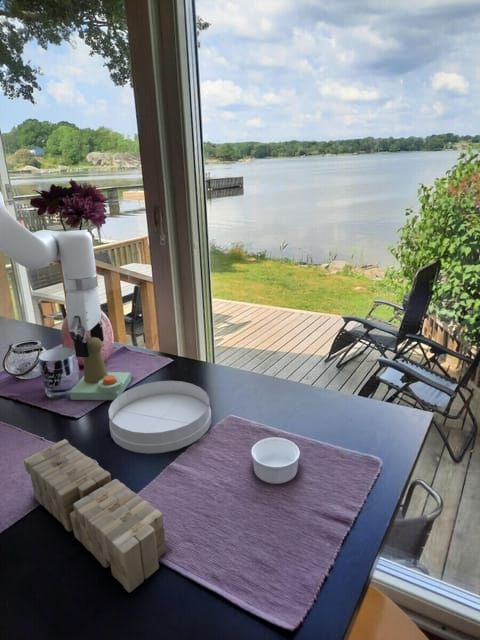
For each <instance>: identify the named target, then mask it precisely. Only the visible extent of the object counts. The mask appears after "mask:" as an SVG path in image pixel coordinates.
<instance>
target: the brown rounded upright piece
mask: <svg viewBox="0 0 480 640" xmlns="http://www.w3.org/2000/svg"><path fill="white" fill-rule="evenodd" d="M86 341H88V347H89V354H90V355H89V357H83V376H84V381H85V382H86V383H89V384H95V383H98V382H99V381H100V380H102V379H103V378H104V377H105V376H108V373H107V372H108V371H107V370H108V369H107V367H106V363H105V359H104V357H103V354H102V349H103V348H102V347H103V343H102V342H103V341H102V342H101V340H100V339H99V338H96V337H91V336H90V337H86Z"/></svg>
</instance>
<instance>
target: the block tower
mask: <svg viewBox="0 0 480 640" xmlns="http://www.w3.org/2000/svg"><path fill="white" fill-rule="evenodd" d="M23 465H24V468H25V471H26V473H28V475H30V480H31V485H32V489H33V493H34V498H35V500H36V501H37V502H38V503H39V504H40V505H41V506H43V507H44V508H45V509H46V510H47V511H48V512H49V514H52V516H53V517H54V518H56V520H57V521H58V522H59V523H61V524H62V525H63V527H64V529H65V530H66V531H67V532H68V533H69V532H71V531H73V535H74V536H73V537H74V538H75V539H76V540H77V541H79V542H80V543H81V544H82V545H83V546H84V548H85V549H86V550H87V551H88V552H90V553H91V555H93V556H94V558H96V560H97V561H98V562H99V563H100V565H101V566H102V567H103V568H108V567H110V571H111V575H112V577H114V579H116V580H117V581H118V583H120V584H121V585H122V586H123V588H124V589H125V590H126V592H128V593H132V592H133V591H134V590H135V589H137V588H138V587H139V586H140V585H141V584H142V583H143V582H144V581H145V580H147V579H148V578H149V577H150V576H152V575H153V574H154V573H156V571H157V570H159V568H160V564H159V558H160V557H161V556H162V555H164V554H165V553H166V552H167V545H166V536H165V528H164V516H163V513H162V511H160V510H158V509H156V508H155V507H154V506H153V505H151V504H150V503H149V502H148V501H147V500H146V499H144V498H143V497H141V496H140V495H138V494H137V493H136V492H135V491H132V490H131V489H130V488H129V487H128V486H126V484H124V483H123V482H121V481H120V480H119V479H118V478H114V479H113V480H112V475H111V473H110V471H108V470H105V469H104V468H102V467H101V466H100V465H99V464H98V463H96V462H95V461H94V460H93V459H91V458H90V457H88V456H87V455H85V454H84V453H82V452H81V451H80V450H79V449H78V448H76V447H75V446H73V445H71V444H70V442H69V440H67V439H66V438H64V439H63V440H62V439H61V440H60V441H57V442H56V443H54V444H52V445H50V446H48V447H46V448H44V449H42V450H40V451H39V452H35V453H34V454H33V455H30V456H28V457H27V458H24V459H23Z"/></svg>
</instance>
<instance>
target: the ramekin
mask: <svg viewBox="0 0 480 640" xmlns="http://www.w3.org/2000/svg"><path fill="white" fill-rule="evenodd" d="M250 454H251V459H252V462H253V463H252V464H253V471H254V474H255V476H256V477H257V478H258V479H259V480H261V481H263V482H265V483H268V484H274V485H275V484H284V483H286V482H289V481H291V480H293V479H294V478H295V477H296V475H297V472H298V467H299V459H300V456H301V451H300V448H299V446H298V445H297V444H295V443H294V442H293V441H291V440H289V439H287V438H283V437H267V438H263V439H260V440H259V441H257V442H256V443H254V444H253V445H252V448H251V450H250Z"/></svg>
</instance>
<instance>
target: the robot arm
mask: <svg viewBox="0 0 480 640" xmlns="http://www.w3.org/2000/svg"><path fill="white" fill-rule="evenodd" d="M4 200H5V199H4V195H3V193H2V192H1V191H0V251H1V252H2V253H3V254H4V255H6V256H7V257H8V258H10V259H11V260H13V261H14V262H15V263H17V264H18V265H20V266H22V267H24V268H26V269H29V270H41V269H44V268H46V267H47V266H49V265H50V264H51V263H53V262H56V261H59V260H60V263H61V264H60V265H61V270H62V276H63V277H62V278H63V283H64V288H65V289H64V290H65V292H66V293H65V307H66V308H65V309H66V319H67V320H66V321H67V328H68V332H69V335H70V338H71V340H72V343H73V346H74V352H75V356H76V357H77V358H84V357H89V355H90V354H89V347H88V341H86V338H87V335H88V332H89V333H90V334H89V335H90V337H96V338H99V339H100V340H101V342H104V341H105V337H104V331H103V321H102V319H103V315H102V306H101V302H100V297H99V293H98V289H99V281H98V275H97V265H96V258H95V251H94V243H93V238H92V237H93V236H92V234H91V233H90V232H89V231H87V230H82V229H76V230H65V231H61V230H53V229H52V230H51V229H40V230H36V231H33V232H32V231H30V230H29V228H26V227H25V226H24V225H23V224H21V223H20V222H19V221H18V220H17V219H16V218H15V217H14V216H13V215H12V214H11V213H10V212H9V210H8V209H7V207H6V205H5V201H4ZM81 334H82V335H81Z"/></svg>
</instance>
